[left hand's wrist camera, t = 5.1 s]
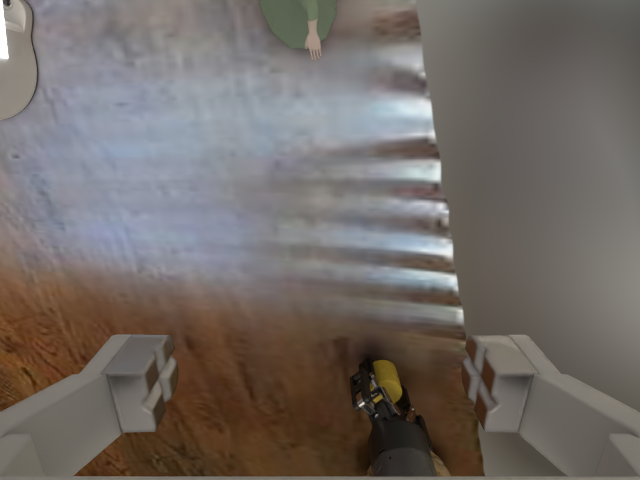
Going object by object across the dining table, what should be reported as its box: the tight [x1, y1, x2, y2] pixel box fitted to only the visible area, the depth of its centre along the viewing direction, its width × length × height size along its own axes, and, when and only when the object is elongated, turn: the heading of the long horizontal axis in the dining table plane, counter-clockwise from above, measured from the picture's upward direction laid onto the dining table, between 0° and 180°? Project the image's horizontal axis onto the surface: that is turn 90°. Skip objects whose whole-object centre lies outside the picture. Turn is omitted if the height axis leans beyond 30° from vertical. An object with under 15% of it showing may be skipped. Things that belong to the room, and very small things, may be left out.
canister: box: [370, 360, 402, 403], centre depth 59 cm, size 5×5×5 cm
